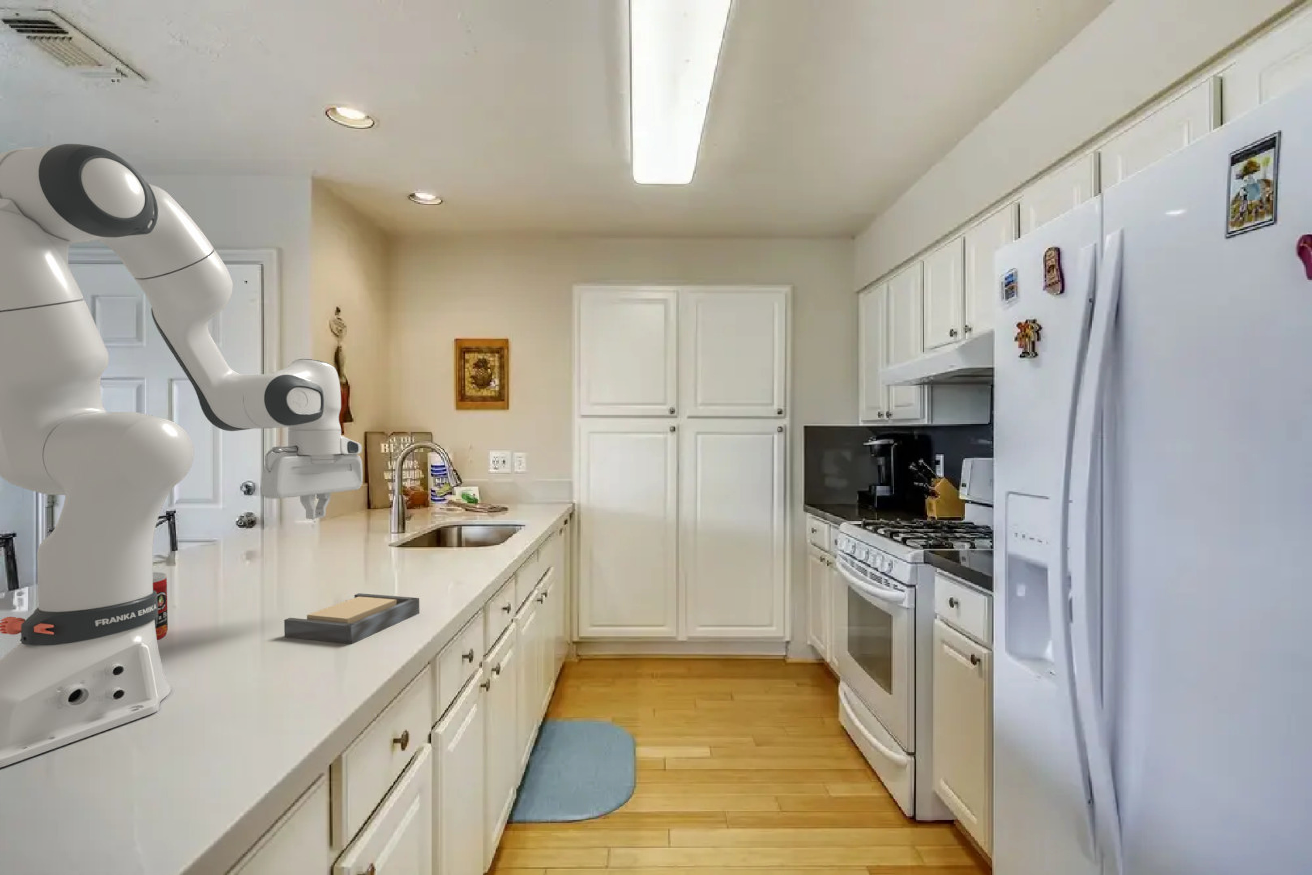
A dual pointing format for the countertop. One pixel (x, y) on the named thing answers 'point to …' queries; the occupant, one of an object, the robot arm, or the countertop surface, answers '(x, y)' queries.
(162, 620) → the canned food
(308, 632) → the dark grey piece
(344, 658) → the countertop surface
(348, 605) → the carton
